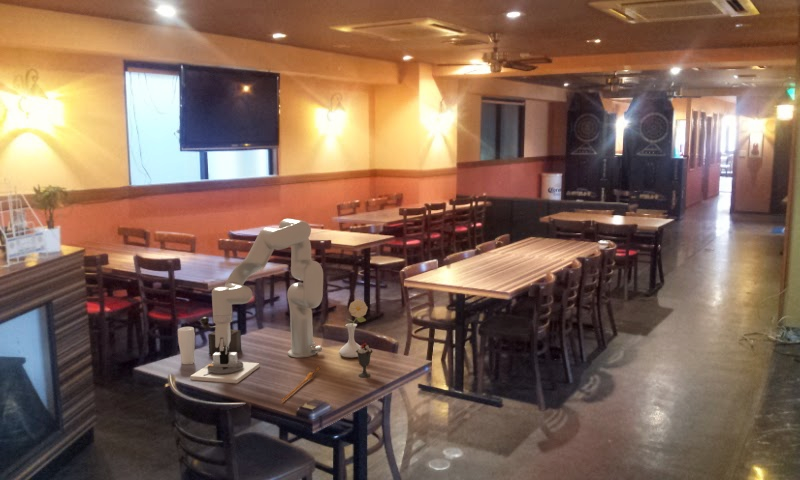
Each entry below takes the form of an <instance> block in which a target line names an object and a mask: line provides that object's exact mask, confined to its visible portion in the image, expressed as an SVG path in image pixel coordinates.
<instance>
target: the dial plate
mask: <svg viewBox="0 0 800 480" xmlns="http://www.w3.org/2000/svg"><path fill="white" fill-rule="evenodd" d="M241 362H242V363H243V369H242V370H240V371H238V372H235V373H230V374H212V373H210V372H208V366H209V365H210V364H212V363H213V361H212V362H211V363H209V364H207V365H206V366H203V367H202V368H201V369H199V370H198V371H196V372H195V373H193V374H191V375H190V380H191V381H202V382H203V381H206V382H217V383H226V384H227V383H228V384H230V383H231V384H238V383H239V382H241V381H242V380H244V379H245V378H246V377H247V376H249V375H251V374H252V373H253V372H254V371H256V370H257V369H259V368H260V363H259V362H247V361H241Z"/></svg>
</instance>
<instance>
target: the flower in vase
mask: <svg viewBox="0 0 800 480" xmlns="http://www.w3.org/2000/svg"><path fill="white" fill-rule="evenodd" d="M368 309H369V308H368V306H367V304H366V302H365V301H364V300H361V299H355V300H354V301H352V302H350V304H349V308H348V312H349V314H350V315H351V316H353V317H354V318H355V319H354V320H352V319H349V318H347V317H345V319H346V320H347V321H350V322H352V323H346V324H345V327H346V328H347V331H348V341H347V342H346V343H345V344H344V345H343V346H342V347H341V348H340V349H339V350H338V354H339V356H341V357H344V358H352V359H353V358H358V353H357V352H356V351H357V350H358V349H360V347H361V345H360V344H359V343H357V342H356V341H355V330H356V327H357V326H358V324H357V323H355V322H356V320H357V321H358V322H359V323H363V322H366V321H367V319H366V318H365V317H364V316H365V315H366V314H367V311H368Z"/></svg>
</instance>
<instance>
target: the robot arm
mask: <svg viewBox="0 0 800 480" xmlns="http://www.w3.org/2000/svg"><path fill="white" fill-rule="evenodd" d="M311 233H312V228H311V226H310V224H309V223H308V222H307V221H305V220H300V219H295V218H284V219H282V220H280V222H279V225H278V228H275V227H264V228H262V229H261V230H260V231H259V233H258V235H257V236H256V239H255V240H254V242H253V244H252V246H251V248H250V250H249V251H248V254H247V255H246V257H245V259H243V260H242V261H241V262H240V263H239V264H238V265H237V266H236V267H235V268H234V269H233V270H232V271H231V273H230V274H229V276H228V278H227V280H226V282H225V284H224V286H218V287H214V288H213V289H212V291H211V301H212V302H211V303H212V320H213V321H212V323H213V324H215V325H214V326H215V328H214V331H215V347H216V348H218V347H219V345H220V364H228V354H227V352H230V351H228V350H229V344H230V341H231V331H230V329H231V323H232V322H233V305H244V304H247V303H249V302H250V301H251V300H252V298H253V291H252V289H251V288H250V287H249V286H247V285H244V284H245V282H246V281H247V279H248V278H249V277H250V276H252V275H253V274H255V273H257V272H259V271H261V270H264V268H265V267H266V266H267V264H268V263H269V260H270V258H271V256H272V254H273V253H274V251H275V250H279V251H280V250H284V249H287V248H290V251H291V252H290V253H291V256H290V257H291V260H290V261H291V262H290V274H291V276H292V277H293V278H294V279H296V280H299V281H302V282H294V283H292V284H291V285H290V286H289V287H288V289H287V292H286V294H287V297H286V298H287V302H288V307H289V308H288V309H289V318H290V343H291V344H290V346H291V348H290V349H289V350H288V351H287V355H288V356H289V357H291V358H295V359H297V358H300V359H301V358H309V357H313V356H316V355H317V353H318V352H321V353H322V350H323V349H322V346H321V345H316V342H315V341H314V334H313V331H314V330H313V310H312V309H316V308H317V307H319V306H320V305H321V303H322V299H323V295H324V293H323V292H324V270H323V268H322V265H321V263H319V262H318V261H316V260H313V259H312V245H311V241H310V235H311Z"/></svg>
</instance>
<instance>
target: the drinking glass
mask: <svg viewBox="0 0 800 480" xmlns="http://www.w3.org/2000/svg"><path fill="white" fill-rule="evenodd" d="M195 334H196V333H195V328H194V327H193V326H183V327H180V328H178V329H177V340H178V341H177V342H178V346H179V355H180V361H181V362H180V363H181V364H182V365H185V366H188V365H192V364H194V363H195V346H196V345H195V341H196V337H195V336H196V335H195Z"/></svg>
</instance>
